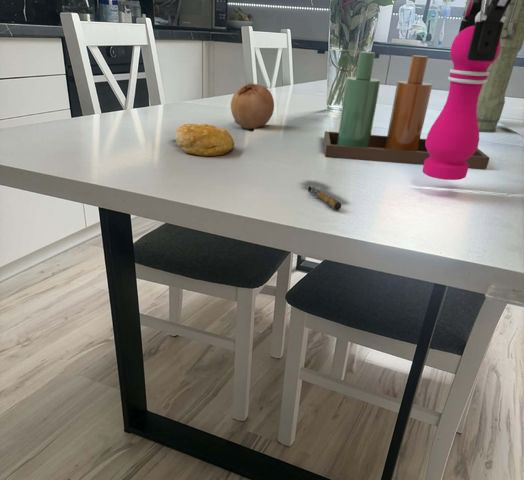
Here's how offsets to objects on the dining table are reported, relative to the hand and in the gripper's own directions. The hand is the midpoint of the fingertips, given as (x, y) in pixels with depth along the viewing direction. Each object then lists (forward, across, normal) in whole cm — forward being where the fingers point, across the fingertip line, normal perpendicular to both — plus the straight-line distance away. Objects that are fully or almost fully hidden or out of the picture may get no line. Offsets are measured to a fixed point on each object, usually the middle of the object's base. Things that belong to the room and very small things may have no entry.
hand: (472, 56), depth 63 cm
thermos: (+19, +62, -23) cm, 69 cm away
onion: (+18, +40, +33) cm, 54 cm away
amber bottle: (+17, +22, +3) cm, 28 cm away
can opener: (+18, -8, +18) cm, 26 cm away
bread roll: (+17, +16, +39) cm, 45 cm away
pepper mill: (+15, 0, 0) cm, 15 cm away
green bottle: (+17, +22, +12) cm, 30 cm away
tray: (+18, +22, +3) cm, 28 cm away
